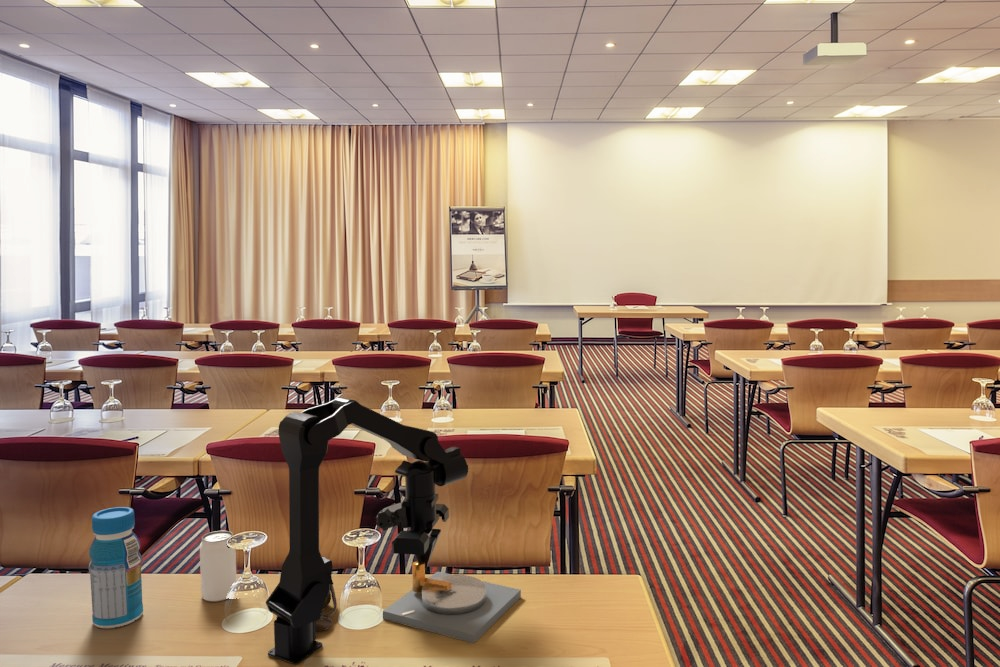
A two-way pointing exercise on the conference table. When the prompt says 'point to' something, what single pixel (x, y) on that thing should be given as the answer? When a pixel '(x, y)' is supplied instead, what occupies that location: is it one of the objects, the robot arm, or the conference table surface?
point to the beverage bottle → (115, 569)
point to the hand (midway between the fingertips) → (423, 569)
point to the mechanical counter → (324, 619)
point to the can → (217, 566)
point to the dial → (448, 591)
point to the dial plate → (453, 625)
